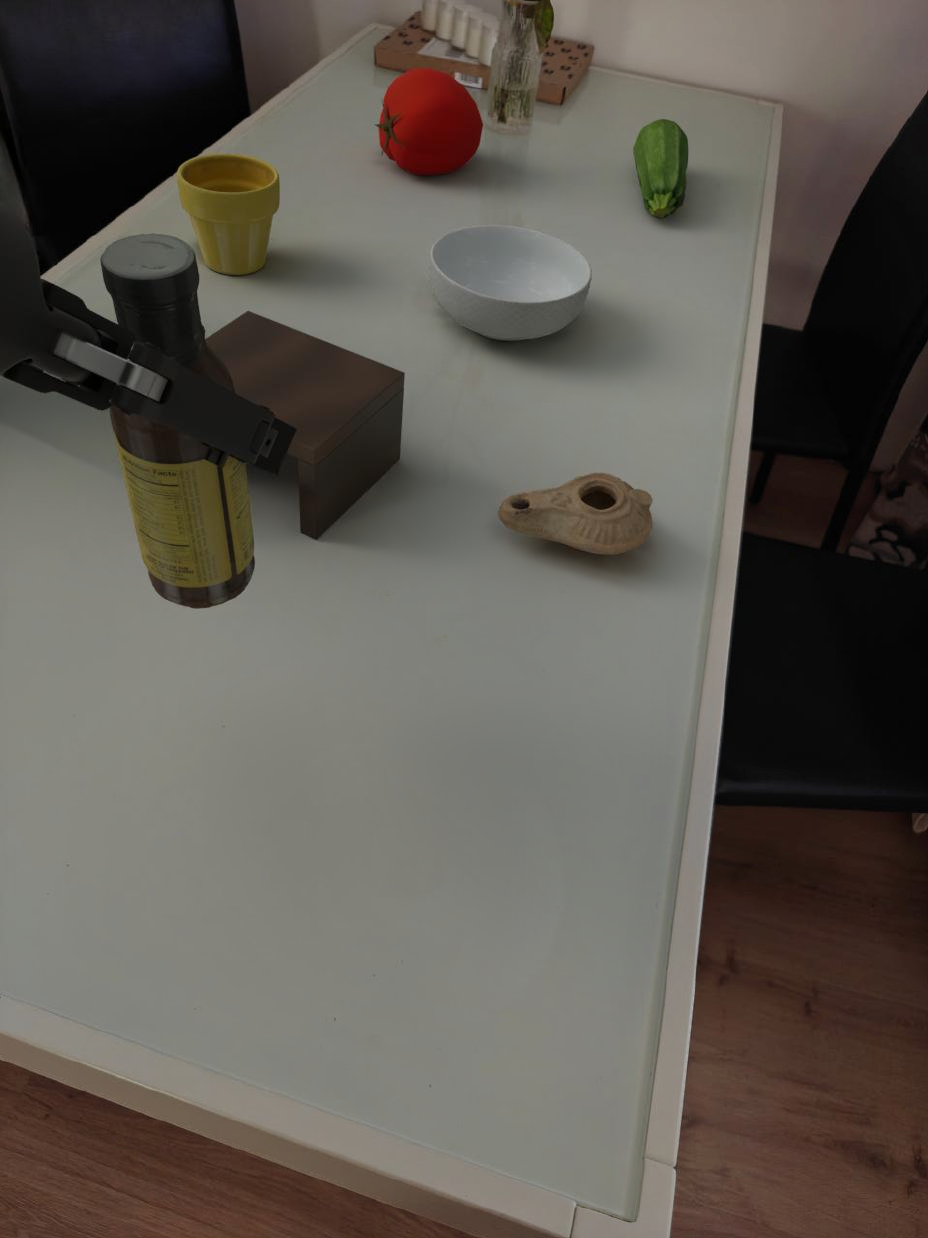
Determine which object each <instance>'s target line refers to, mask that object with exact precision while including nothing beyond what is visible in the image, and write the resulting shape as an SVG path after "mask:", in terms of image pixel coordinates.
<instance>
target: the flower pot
mask: <svg viewBox="0 0 928 1238" xmlns="http://www.w3.org/2000/svg"><path fill="white" fill-rule="evenodd" d="M176 177H177V178H176V179H177V189H178V194H179V200H180V205H181V207H182V209H183V210H184V211H185V212H186V213H187V214H188V216H189V218H190V221H191V224H192V227H193V231H194V234H195V237H196V240H197V243H198V246H199V250H200V253H201V256H202V259H203V262H204V264H205V265H206V266H207V267H208V268H209V269H210V270H212V271H214V272H215V273H216V272H217V273H219V274H223V275H229V276H242V275H248V274H249V275H250V274H252V273H255V272H257V271H259V270H261V269H262V268H263V267H264V266H265V264H266V260H267V253H268V246H269V241H270V236H271V229H272V222H273V219H274V215H275V214H276V213H277V212H278V210H279V207H280V200H281V197H280V196H281V190H280V189H281V187H280V186H281V185H280V184H281V182H280V174H279V172H278V170H277V169H276V168H275V167H274V166H273V165H272V164H270V163H269V162H268V161H265V160H263V159H260V158H258V157H255V156H251V155H246V154H241V153H225V152H223V153H222V152H221V153H220V152H219V153H218V152H217V153H209V154H203V155H197V156H195V157H192V158H190V159H187V160H186V161H184V162H183V163H182V164H181V165H180V166H179V167H178V168H177V171H176Z"/></svg>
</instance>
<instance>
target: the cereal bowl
mask: <svg viewBox="0 0 928 1238" xmlns="http://www.w3.org/2000/svg"><path fill="white" fill-rule="evenodd" d="M428 261H429V262H428V270H429V271H428V272H429V273H428V277H429V284H430V288H431V291H432V295H433V296H434V300H435V301H436V302H437V304H438V306H440V309H441V310H443V311H444V313H445V314H447V316H449V318H451V319H452V320H453V321H455V322H456V323H457V324H459V325H461V326H462V327H463V328H466V329H468V330H470V331H473V332H475V333H476V334H479V335H481V336H483V337H485V338H488V339H490V340H494V341H502V342H518V341H522V340H533V339H539V338H543V337H545V336H550V335H553V334H555V333H556V332H558V331H561V330H562V329H564V328H566V327H567V326H568V325H569V324H571V322H573V321H574V320H575V318H576V317H577V316H578V315H579V313H580V312H581V310H582V309H583V307H584V305H585V302H586V301H587V297H588V294H589V292H590V288H591V284H592V283H591V282H592V280H593V279H592V268H591V265H590V262H589V261H588V259H587V258H586V257H585V255H584V254H583V253H581V252H580V251H579V250H578V249H577V248H575V247H574V246H572V245H571V244H569V243H568V242H566V241H564V240H562V239H560V238H558V237H555V236H554V235H551V234H548V233H545V232H543V231H539V230H536V229H531V228H526V227H521V226H514V225H502V224H501V225H500V224H482V225H472V226H465V227H461V228H458V229H454V230H451V231H449V232H447V233H445V234H443V235H442V236H440V237H439V238H437V240H435V242H434V243H433V244H432V246H431V248H430V252H429V259H428Z"/></svg>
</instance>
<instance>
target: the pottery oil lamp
mask: <svg viewBox="0 0 928 1238" xmlns="http://www.w3.org/2000/svg"><path fill="white" fill-rule="evenodd" d="M653 499H654V498H653V497H652V495H651V494H650V493H649V491H647V490H643V489H640V488H634V487H633V486H631V485H630V484H629V483H628V482H626V481H624V480H622V479H621V478H620V477H617V476H615V475H614V474H611V473H608V472H607V473H606V472H591V473H588V474H585V475H582V476H581V475H578V476H576V477H574V478H572V479H571V480H569V481H567V482H565V483H563V484H562V485H559V486H556V487H552V488H546V489H540V490H534V491H533V490H532V491H527V492H525V491H524V492H519V493H515V494H512V495H509V496H507V497H506V498H504V499H503V500H502V502H501V503H500V506H499V508H498V510H497V516H498V518H499V520H500V521H501V522H502V524H503V525H504V527H506V528H508V529H509V530H511V531H513V532H516V533H519V534H521V535H524V536H527V537H528V536H529V537H533V538H536V539H542V540H545V541H551V542H554V543H559V544H563V545H566V546H569V547H570V548H572V549H574V550H577V551H581V552H585V553H591V554H594V555H595V554H596V555H618V554H619V555H620V554H623V553H628V552H630V551H632V550H635V549H637V548H639V547H640V546H641V545H642V544H644V542H645V541H646V540H647V539H648V538H649V536H650V534H651V532H652V529H653V526H654V525H653V518H652V517H653V516H652V513H651V510H650V508H651V505H652V504H653V501H654V500H653Z"/></svg>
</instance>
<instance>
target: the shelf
mask: <svg viewBox="0 0 928 1238" xmlns="http://www.w3.org/2000/svg"><path fill="white" fill-rule="evenodd" d="M205 342H206V344H208V346H209V347H210V348H211V349H212V350H213V351H214V352H215V353H216V354H217V356H218V357H219V358H220V359H221V360H222V361H223V363H224V364H225V366H226V367H227V368H228V370H229V373H230V375H231V378H232V381H233V384H234V388H235V393H236V394H237V395H239V396H241V397H243V398H245V399H247V400H249V401H251V402H252V403H254V404H256V405H259V404H261V405H263V406H266V407H268V408H270V409H269V410H270V411H272V412H274V414H275V415H276V416H275V417H276V418H278V419H279V420H281V421H283V422H285V423H287V424H289V425H291V426H292V427H294V428H296V429H297V430H296V432H295V435H294V437H293V439H292V442H291V444H290V446H289V449H288V451H287V453H286V455H289V456H291V457H293V458H296V459H297V470H298V471H297V475H298V498H299V499H298V501H299V502H298V503H299V529H300V534H301V535H302V534H303V535H304V536H307V537H309V538H311V539H313V540H316V541H317V540H319V538H320V537H322V536H323V535H324V534H325V533H326V532H327V531H328V530H329V529H330V528H331V527H332V526H333V525H334V524H335V523H336V522H337V521H338V520H339V519H340V518H342V516H343V515H344V514H345V513H346V512H347V511H348V510H349V509H351V508H352V506H353V505H354V504H356V502H358V500H360V499H361V498H362V497H363V496H364V495H365V494H366V493H367V492H368V491H369V490H371V488H373V486H374V485H375V484H376V483H377V482H378V481H380V480H381V478H383V476H385V475H386V474H387V472H389V471H390V469H392V468H393V467H394V466H395V465H396V464H397V463H398V462H399V461H400V460H401V450H402V448H401V447H402V433H403V430H402V429H403V414H404V400H405V399H404V398H405V397H404V396H405V377H406V376H405V375H406V373H405V371H403V370H399V369H397V368H394V367H392V366H389V365H387V364H384V363H381V362H378V361H377V360H375V359H372V358H368V357H366V356H364V355H362V354H359V353H357V352H354V351H351V350H348V349H346V348H343V347H341V346H339V345H336V344H334V343H331V342H329V341H326V340H324V339H321V338H319V337H316V336H313V335H310V334H308V333H307V332H303V331H301V330H298V329H295V328H294V327H290V326H288V325H286V324H283V323H280V322H279V321H275V320H273V319H270V318H268V317H266V316H262V315H260V314H258V313H256V312H253V311H250V310H247V311H245V312H244V313H243V314H241V315H239V316H238V317H236V318H235V319H233V320H232V321H230V322H229V323H227V324H225V325H224V326H223V327H221V328H220V329H218V330H217V331H215V332H214V333H212V334H210V335H209V336H207V337H205Z"/></svg>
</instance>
